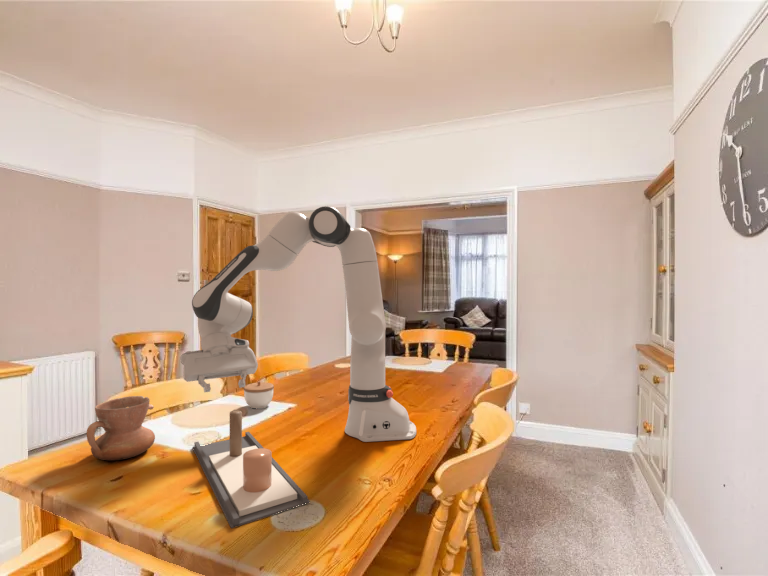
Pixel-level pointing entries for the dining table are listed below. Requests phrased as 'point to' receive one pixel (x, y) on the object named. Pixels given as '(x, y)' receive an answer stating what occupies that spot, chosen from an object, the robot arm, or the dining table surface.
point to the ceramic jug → (121, 428)
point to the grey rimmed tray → (221, 494)
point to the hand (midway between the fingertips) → (225, 388)
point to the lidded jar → (258, 394)
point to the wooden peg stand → (231, 475)
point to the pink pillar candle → (257, 470)
